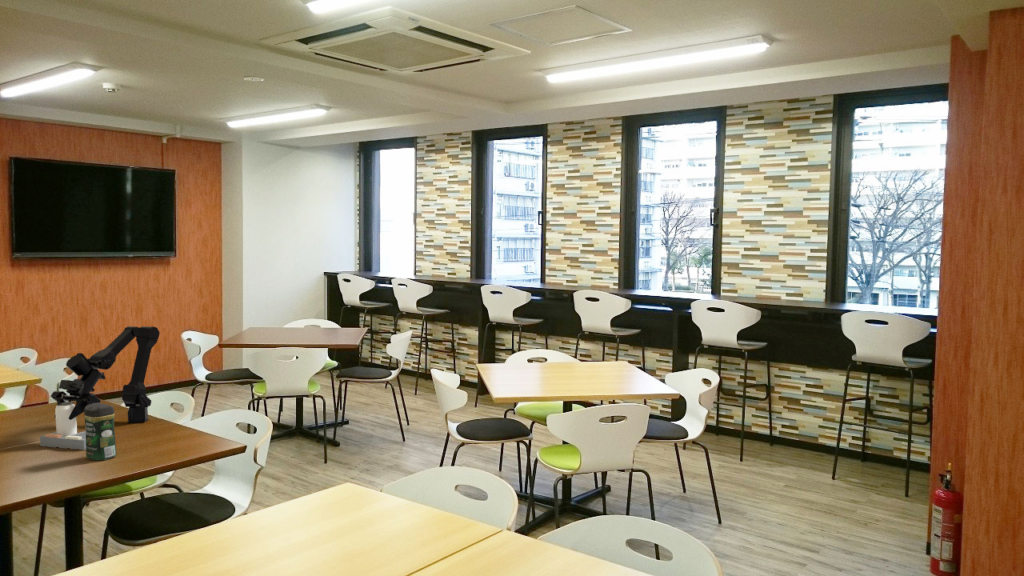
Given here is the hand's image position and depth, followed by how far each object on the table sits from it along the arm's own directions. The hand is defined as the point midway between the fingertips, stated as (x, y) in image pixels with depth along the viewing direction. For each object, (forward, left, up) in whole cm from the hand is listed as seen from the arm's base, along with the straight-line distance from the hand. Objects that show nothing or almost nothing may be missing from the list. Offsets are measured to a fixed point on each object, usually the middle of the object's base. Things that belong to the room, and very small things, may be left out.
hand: (62, 418), depth 270 cm
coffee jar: (-21, +22, -9) cm, 32 cm away
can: (-1, -1, -7) cm, 7 cm away
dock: (-4, +2, -9) cm, 10 cm away
